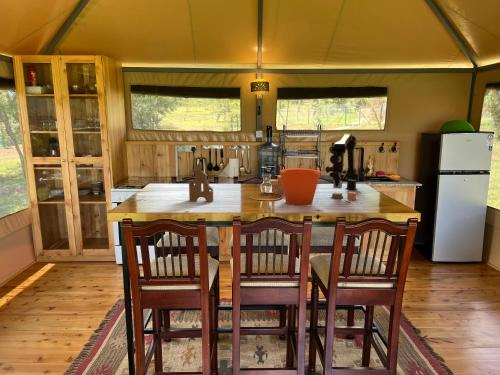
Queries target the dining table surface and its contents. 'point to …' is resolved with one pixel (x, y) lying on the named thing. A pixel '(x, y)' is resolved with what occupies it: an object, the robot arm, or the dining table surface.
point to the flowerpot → (299, 185)
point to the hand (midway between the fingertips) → (337, 186)
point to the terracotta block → (352, 195)
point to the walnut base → (337, 195)
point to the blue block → (338, 185)
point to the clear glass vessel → (277, 185)
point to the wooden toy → (196, 189)
